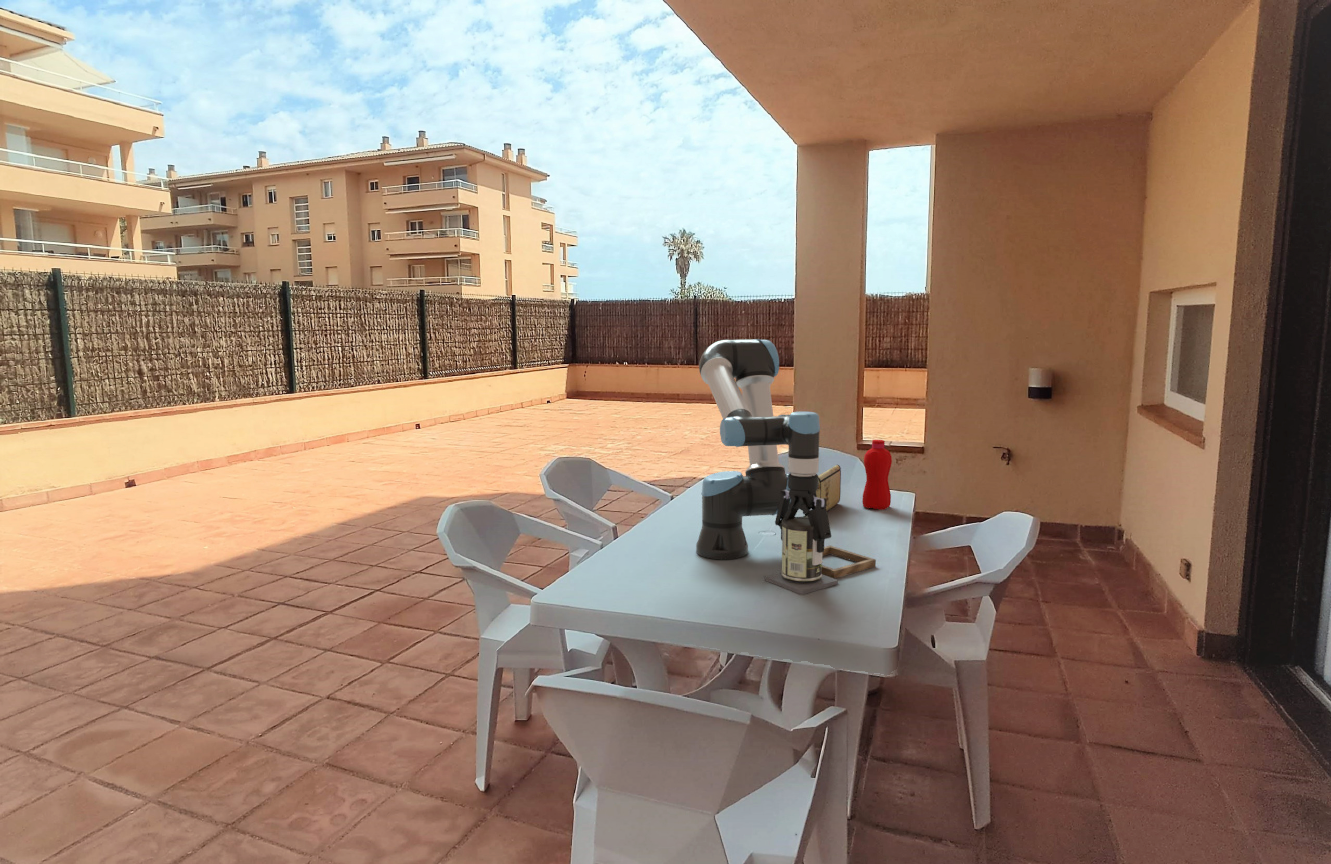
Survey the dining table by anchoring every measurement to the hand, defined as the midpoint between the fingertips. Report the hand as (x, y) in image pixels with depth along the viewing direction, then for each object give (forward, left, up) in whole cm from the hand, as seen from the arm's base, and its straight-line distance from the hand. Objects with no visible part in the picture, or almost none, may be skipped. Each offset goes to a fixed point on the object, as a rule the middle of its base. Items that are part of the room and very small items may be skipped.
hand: (801, 558), depth 184 cm
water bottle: (+81, +41, -6) cm, 91 cm away
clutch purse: (+60, +49, -7) cm, 78 cm away
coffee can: (0, 0, -5) cm, 5 cm away
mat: (0, 0, -6) cm, 6 cm away
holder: (+17, +5, -6) cm, 19 cm away
